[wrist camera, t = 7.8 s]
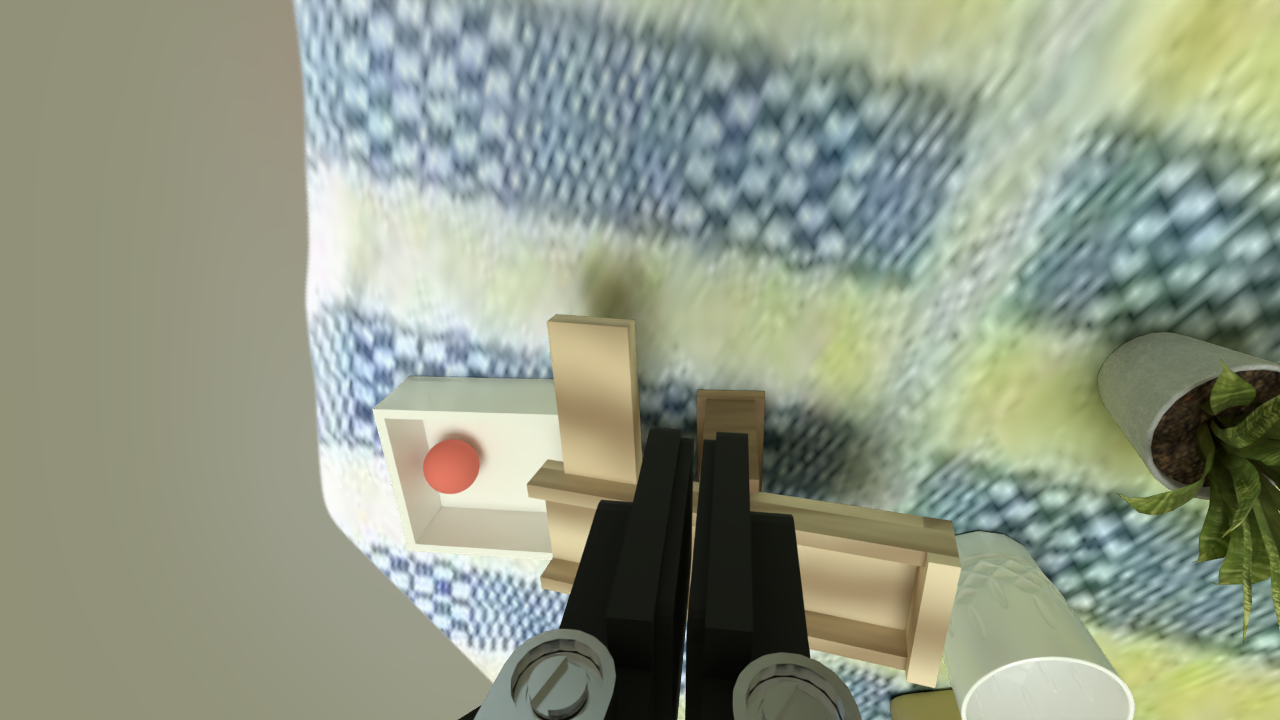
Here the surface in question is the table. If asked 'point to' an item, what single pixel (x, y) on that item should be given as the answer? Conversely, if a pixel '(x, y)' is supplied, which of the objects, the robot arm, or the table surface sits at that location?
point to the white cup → (1023, 643)
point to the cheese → (925, 706)
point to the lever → (825, 532)
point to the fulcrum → (733, 424)
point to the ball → (451, 466)
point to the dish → (508, 455)
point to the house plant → (1206, 445)
